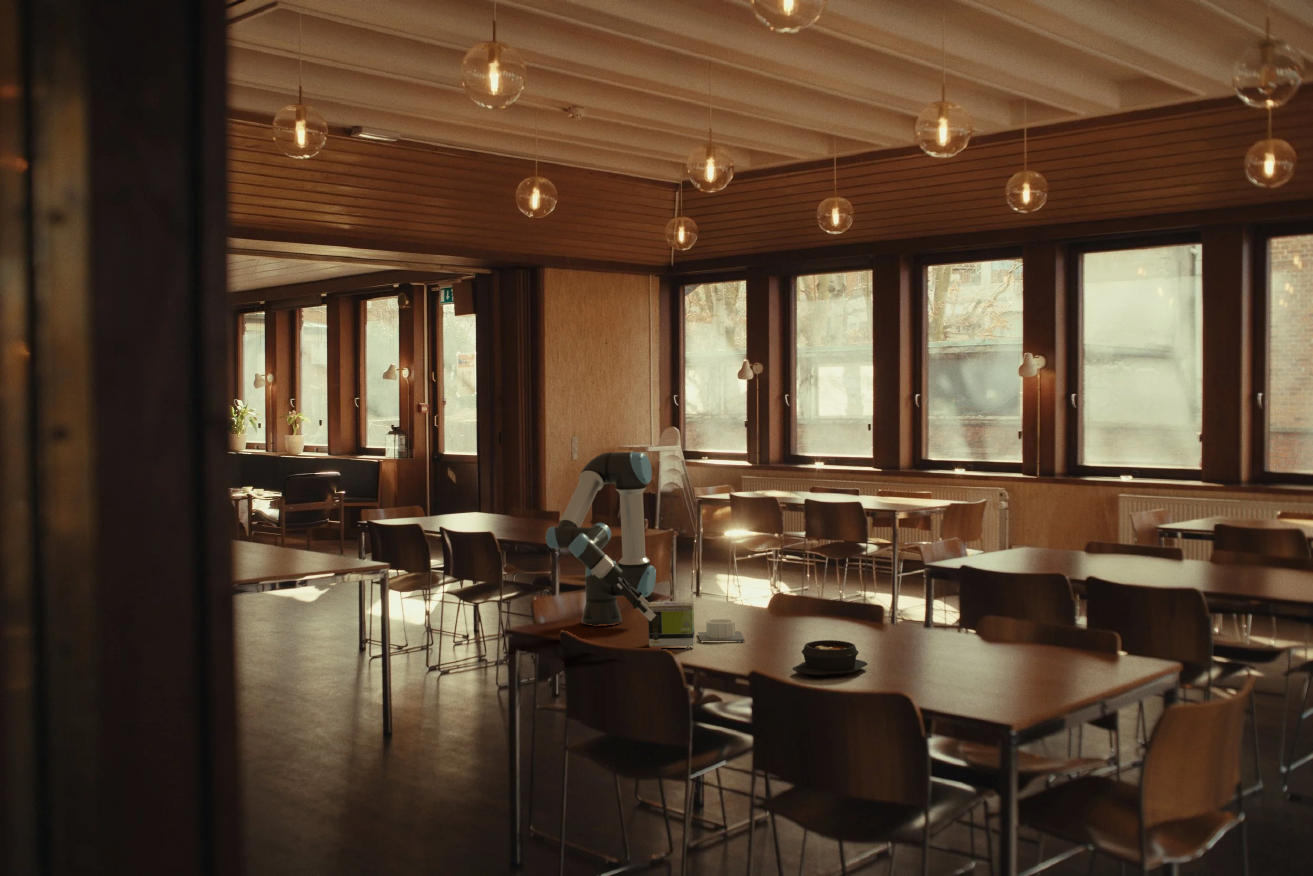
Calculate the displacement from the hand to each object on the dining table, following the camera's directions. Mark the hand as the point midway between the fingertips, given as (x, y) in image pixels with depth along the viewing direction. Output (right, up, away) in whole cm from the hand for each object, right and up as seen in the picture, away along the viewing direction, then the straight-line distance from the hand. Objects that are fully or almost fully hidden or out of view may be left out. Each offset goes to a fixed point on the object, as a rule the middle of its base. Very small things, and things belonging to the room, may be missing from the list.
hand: (652, 614), depth 385 cm
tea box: (+6, -11, 0) cm, 13 cm away
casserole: (+53, -11, -43) cm, 69 cm away
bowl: (+24, -10, +12) cm, 28 cm away
